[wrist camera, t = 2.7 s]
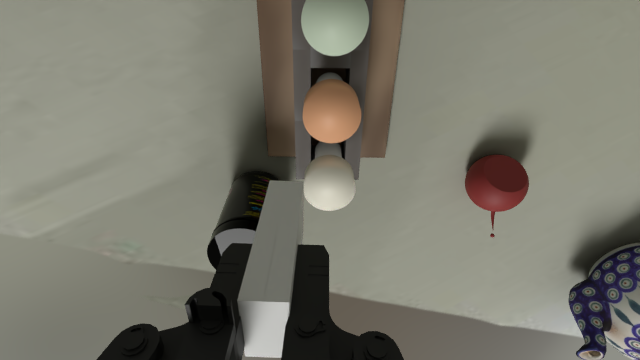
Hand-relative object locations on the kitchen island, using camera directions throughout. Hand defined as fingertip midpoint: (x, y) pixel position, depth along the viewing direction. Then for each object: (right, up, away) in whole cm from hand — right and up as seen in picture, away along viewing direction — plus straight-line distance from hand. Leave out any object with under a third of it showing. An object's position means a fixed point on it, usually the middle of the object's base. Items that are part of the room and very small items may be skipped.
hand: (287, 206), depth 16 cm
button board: (+2, +12, +18) cm, 21 cm away
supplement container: (-6, 0, +26) cm, 26 cm away
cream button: (+2, +4, +17) cm, 17 cm away
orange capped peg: (+2, +9, +13) cm, 16 cm away
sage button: (+2, +14, +10) cm, 17 cm away
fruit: (+20, +1, +25) cm, 32 cm away
